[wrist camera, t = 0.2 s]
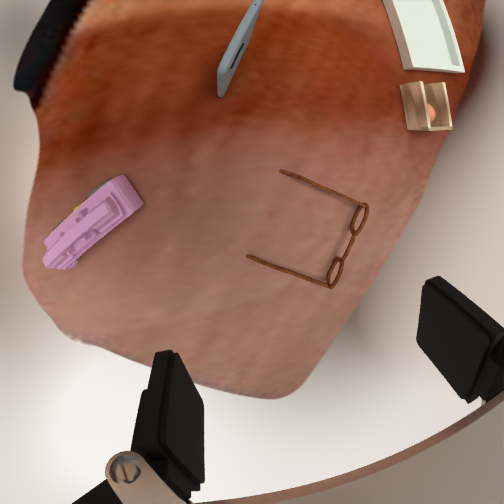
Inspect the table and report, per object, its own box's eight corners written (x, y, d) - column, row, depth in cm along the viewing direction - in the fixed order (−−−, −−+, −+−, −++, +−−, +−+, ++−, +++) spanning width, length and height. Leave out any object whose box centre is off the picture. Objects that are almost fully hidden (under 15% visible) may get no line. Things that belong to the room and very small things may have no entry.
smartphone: (242, 42, 30) (258, -9, 17) (250, 45, 31) (269, -5, 17) (216, 97, 33) (216, 70, 19) (224, 99, 33) (227, 74, 19)
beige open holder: (398, 85, 34) (419, 81, 29) (423, 85, 34) (444, 82, 29) (407, 129, 37) (428, 130, 32) (430, 127, 37) (452, 129, 32)
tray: (371, -27, 26) (378, -33, 24) (426, -16, 26) (434, -20, 24) (403, 69, 33) (413, 67, 31) (455, 73, 33) (464, 72, 31)
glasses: (325, 279, 45) (336, 295, 40) (245, 255, 42) (249, 271, 37) (361, 200, 41) (377, 209, 36) (279, 166, 38) (288, 170, 33)
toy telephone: (124, 167, 35) (96, 178, 26) (151, 206, 37) (131, 228, 28) (44, 239, 37) (9, 266, 28) (68, 272, 39) (38, 305, 30)
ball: (409, 103, 35) (422, 102, 32) (424, 102, 35) (437, 102, 32) (412, 123, 36) (425, 124, 33) (427, 122, 36) (440, 123, 33)
